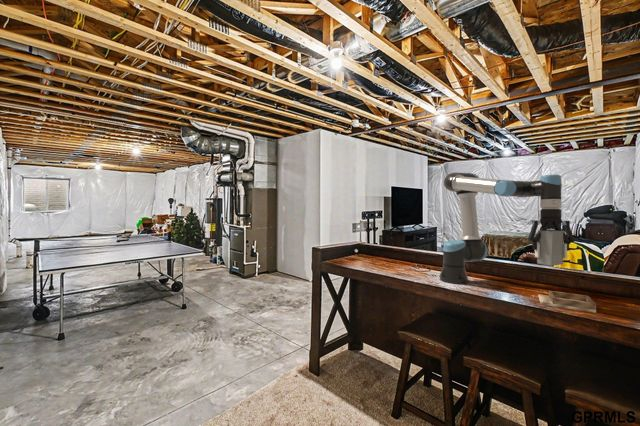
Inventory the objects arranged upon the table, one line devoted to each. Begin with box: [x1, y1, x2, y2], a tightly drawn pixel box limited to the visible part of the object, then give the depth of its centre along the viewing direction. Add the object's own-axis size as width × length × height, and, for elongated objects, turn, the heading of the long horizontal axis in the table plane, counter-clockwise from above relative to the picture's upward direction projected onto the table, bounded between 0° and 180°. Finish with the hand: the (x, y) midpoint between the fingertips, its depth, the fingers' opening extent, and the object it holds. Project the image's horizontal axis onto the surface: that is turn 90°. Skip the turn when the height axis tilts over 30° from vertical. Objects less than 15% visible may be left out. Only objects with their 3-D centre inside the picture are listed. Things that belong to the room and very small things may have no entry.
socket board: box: [537, 290, 597, 314], centre depth 128 cm, size 18×13×4 cm
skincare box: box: [536, 229, 565, 267], centre depth 130 cm, size 8×7×16 cm
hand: (550, 257), depth 130 cm, fingers closed on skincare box, 10 cm apart
